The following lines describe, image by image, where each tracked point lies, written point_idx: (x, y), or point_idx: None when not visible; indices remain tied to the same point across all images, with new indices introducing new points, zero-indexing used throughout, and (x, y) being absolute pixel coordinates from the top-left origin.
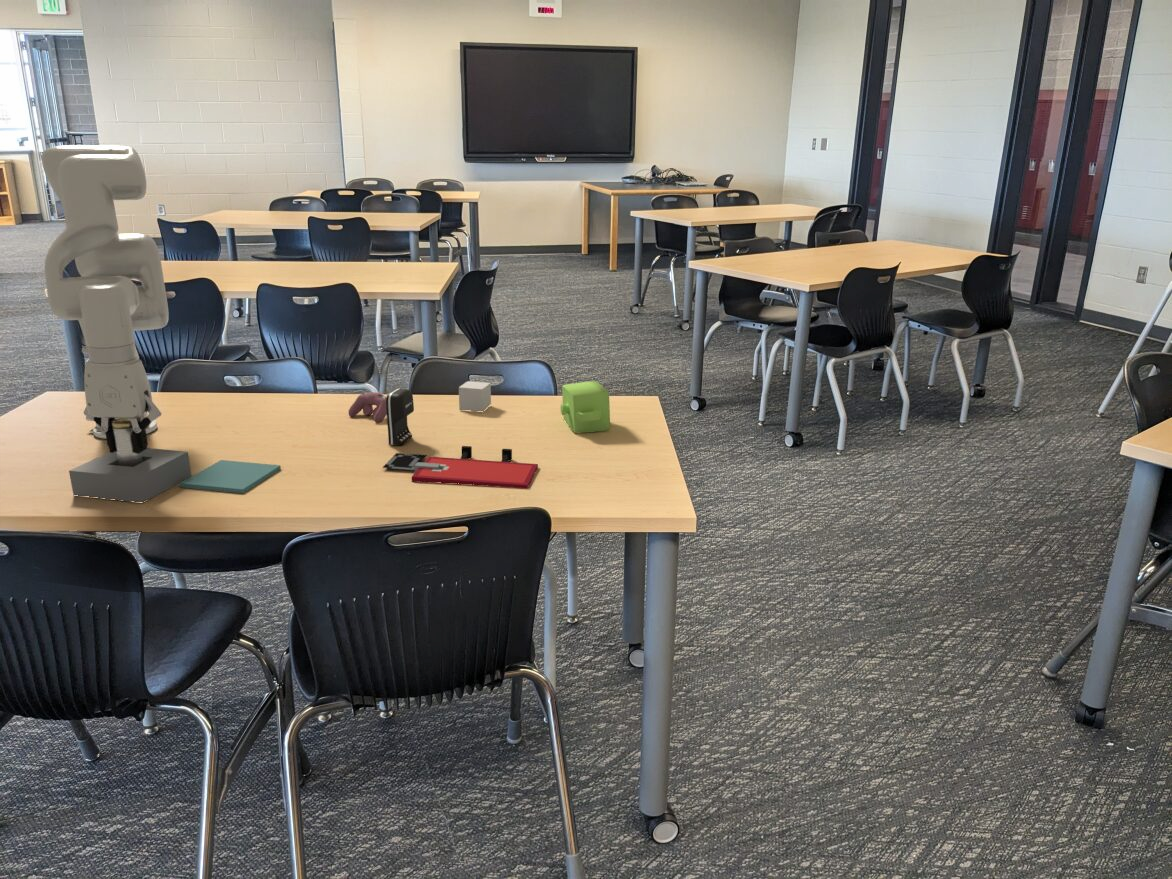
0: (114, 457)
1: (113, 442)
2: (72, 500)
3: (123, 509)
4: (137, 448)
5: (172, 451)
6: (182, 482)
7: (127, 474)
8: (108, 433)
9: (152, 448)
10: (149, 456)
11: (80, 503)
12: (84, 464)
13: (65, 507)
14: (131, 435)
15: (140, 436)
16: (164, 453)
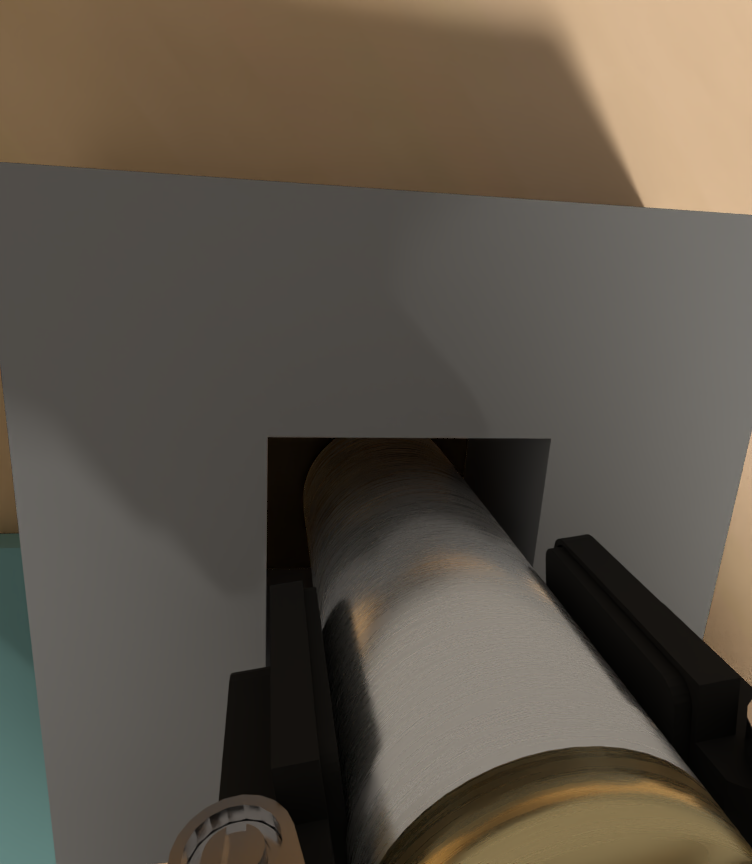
0: None
1: (594, 621)
2: (622, 152)
3: (132, 38)
4: (273, 622)
5: None
6: (11, 563)
7: (168, 228)
8: (698, 671)
9: None
10: None
11: (536, 106)
12: (743, 393)
13: (596, 9)
14: (361, 748)
15: (238, 778)
16: None
